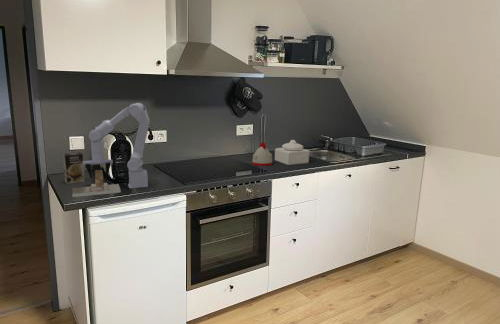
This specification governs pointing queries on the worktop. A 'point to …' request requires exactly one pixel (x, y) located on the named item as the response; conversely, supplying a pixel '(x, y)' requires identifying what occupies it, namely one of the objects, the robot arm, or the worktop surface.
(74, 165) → the coffee box
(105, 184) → the pad
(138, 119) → the robot arm
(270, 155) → the grey bobble hat
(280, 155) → the grey lidded box
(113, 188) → the hole plate
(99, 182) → the peg
